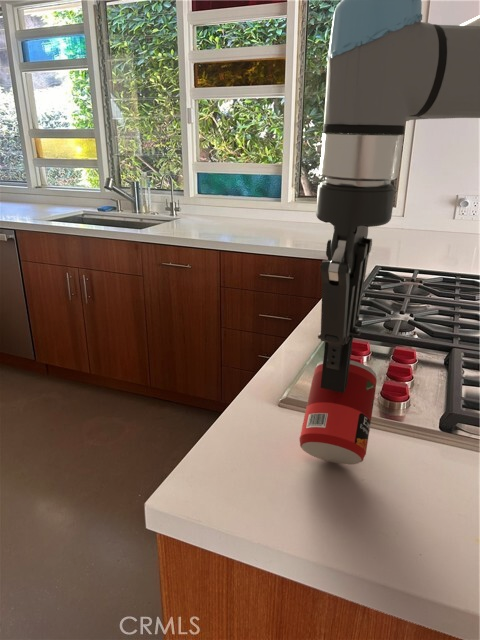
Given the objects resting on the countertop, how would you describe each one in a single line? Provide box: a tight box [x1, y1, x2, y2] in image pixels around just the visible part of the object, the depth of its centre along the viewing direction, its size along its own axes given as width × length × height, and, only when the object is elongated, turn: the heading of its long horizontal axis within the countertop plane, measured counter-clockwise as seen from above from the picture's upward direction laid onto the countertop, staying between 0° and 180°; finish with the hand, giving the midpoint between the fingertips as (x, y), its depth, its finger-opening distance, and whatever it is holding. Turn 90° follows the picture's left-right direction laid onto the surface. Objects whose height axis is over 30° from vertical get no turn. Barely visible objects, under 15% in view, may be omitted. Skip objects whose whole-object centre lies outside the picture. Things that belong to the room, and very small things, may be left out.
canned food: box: [299, 359, 377, 465], centre depth 58 cm, size 8×8×11 cm
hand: (333, 386), depth 55 cm, fingers closed
